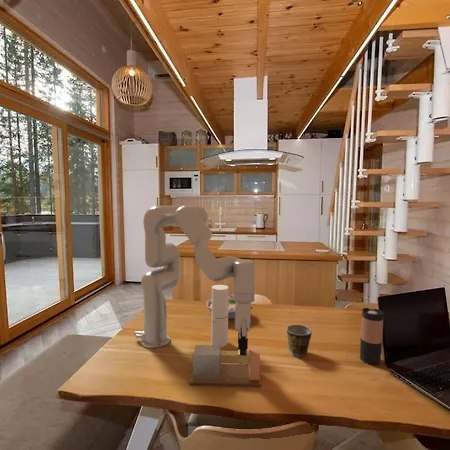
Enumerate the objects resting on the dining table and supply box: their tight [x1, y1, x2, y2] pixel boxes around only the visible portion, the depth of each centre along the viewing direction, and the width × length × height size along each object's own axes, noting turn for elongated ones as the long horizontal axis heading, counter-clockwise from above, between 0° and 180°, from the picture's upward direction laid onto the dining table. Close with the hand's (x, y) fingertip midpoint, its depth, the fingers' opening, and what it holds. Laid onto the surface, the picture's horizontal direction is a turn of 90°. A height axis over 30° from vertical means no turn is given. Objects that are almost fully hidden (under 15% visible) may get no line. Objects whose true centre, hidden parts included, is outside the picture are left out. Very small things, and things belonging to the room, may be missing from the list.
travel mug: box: [359, 307, 384, 366], centre depth 117 cm, size 8×8×20 cm
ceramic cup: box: [286, 324, 313, 358], centre depth 121 cm, size 13×10×10 cm
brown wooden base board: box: [188, 344, 262, 388], centre depth 106 cm, size 24×12×9 cm, turn 89°
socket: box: [248, 345, 261, 380], centre depth 105 cm, size 3×7×8 cm, turn 179°
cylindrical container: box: [210, 284, 229, 348], centre depth 129 cm, size 7×7×25 cm
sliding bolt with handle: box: [220, 328, 250, 364], centre depth 105 cm, size 16×3×12 cm, turn 89°
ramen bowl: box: [206, 293, 253, 320], centre depth 160 cm, size 25×23×8 cm
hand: (242, 345), depth 105 cm, fingers closed on sliding bolt with handle, 3 cm apart
